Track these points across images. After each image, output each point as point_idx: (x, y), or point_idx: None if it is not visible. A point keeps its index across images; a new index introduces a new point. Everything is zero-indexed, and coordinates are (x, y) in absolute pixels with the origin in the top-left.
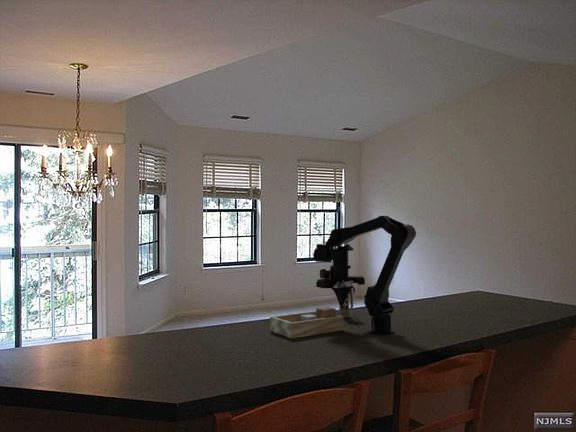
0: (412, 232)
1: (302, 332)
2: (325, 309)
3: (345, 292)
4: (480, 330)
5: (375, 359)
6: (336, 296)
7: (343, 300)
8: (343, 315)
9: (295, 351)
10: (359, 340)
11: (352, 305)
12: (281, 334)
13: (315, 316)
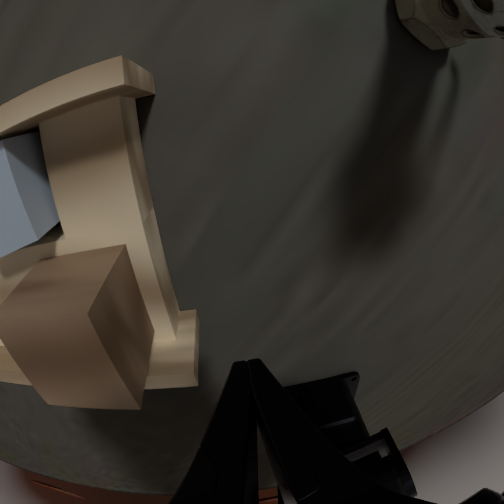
0: None
1: None
2: (56, 392)
3: None
4: (476, 398)
5: (148, 490)
6: (198, 451)
7: (262, 437)
8: (416, 28)
9: (5, 418)
10: (178, 439)
11: None
12: None
13: (23, 246)
